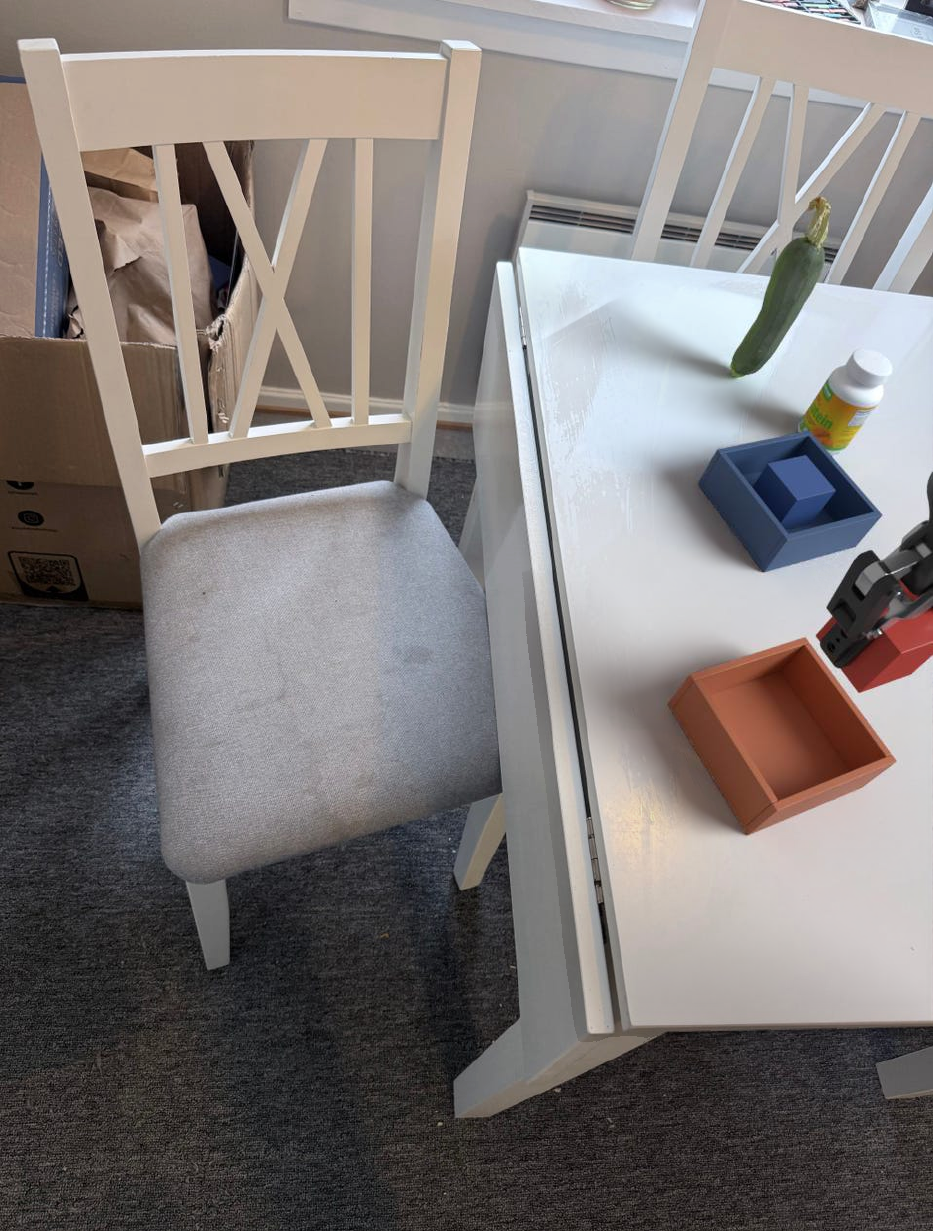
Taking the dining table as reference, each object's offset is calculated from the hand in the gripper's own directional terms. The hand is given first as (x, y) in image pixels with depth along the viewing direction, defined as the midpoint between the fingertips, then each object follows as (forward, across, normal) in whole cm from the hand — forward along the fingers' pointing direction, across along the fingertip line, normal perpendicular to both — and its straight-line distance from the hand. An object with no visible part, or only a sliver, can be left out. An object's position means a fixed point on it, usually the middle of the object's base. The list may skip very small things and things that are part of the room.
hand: (862, 645), depth 54 cm
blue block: (+13, +15, +20) cm, 28 cm away
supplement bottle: (+13, +27, +28) cm, 41 cm away
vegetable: (+13, +23, +38) cm, 46 cm away
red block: (+1, 0, 0) cm, 1 cm away
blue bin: (+13, +15, +20) cm, 28 cm away
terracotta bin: (+13, -1, 0) cm, 13 cm away
